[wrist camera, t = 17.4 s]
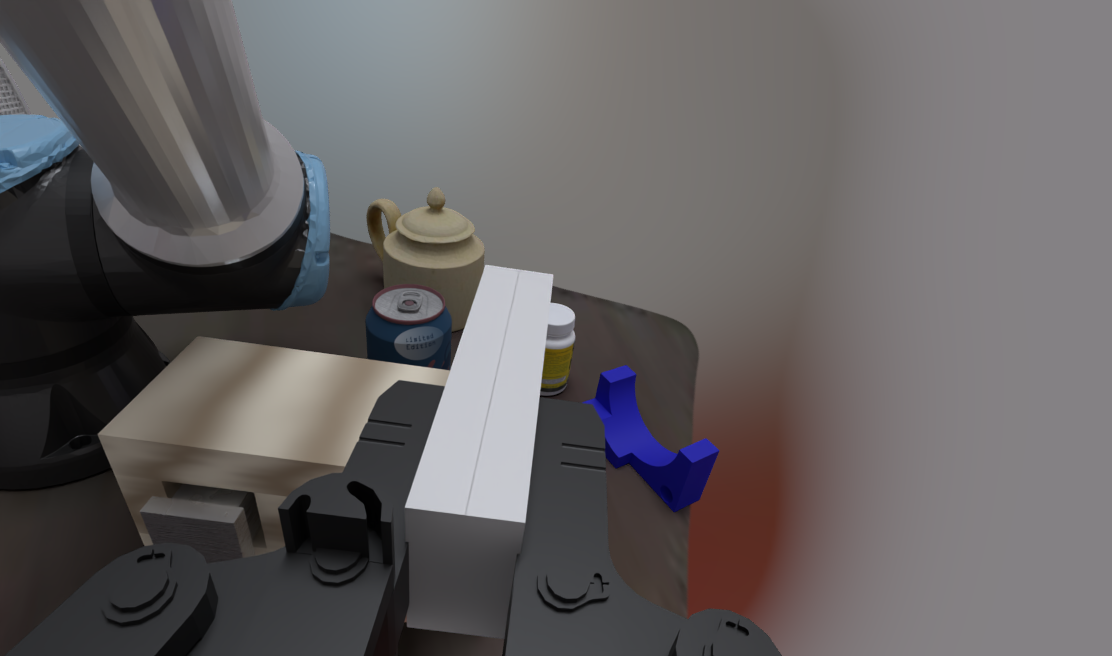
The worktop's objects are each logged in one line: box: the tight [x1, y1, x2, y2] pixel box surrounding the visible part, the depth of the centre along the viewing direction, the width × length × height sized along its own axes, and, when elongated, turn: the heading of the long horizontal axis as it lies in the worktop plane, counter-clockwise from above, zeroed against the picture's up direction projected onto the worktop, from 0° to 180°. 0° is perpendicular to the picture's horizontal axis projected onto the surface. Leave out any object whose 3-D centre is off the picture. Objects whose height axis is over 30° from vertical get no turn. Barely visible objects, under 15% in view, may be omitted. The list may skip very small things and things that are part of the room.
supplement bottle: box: [540, 303, 575, 396], centre depth 57 cm, size 5×5×8 cm
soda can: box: [366, 284, 452, 370], centre depth 50 cm, size 7×7×12 cm
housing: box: [98, 336, 450, 556], centre depth 37 cm, size 21×9×14 cm, turn 87°
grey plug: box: [140, 483, 262, 564], centre depth 36 cm, size 5×12×5 cm, turn 177°
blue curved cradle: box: [583, 365, 719, 512], centre depth 50 cm, size 12×4×6 cm, turn 33°
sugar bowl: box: [367, 187, 484, 332], centre depth 64 cm, size 15×11×15 cm
